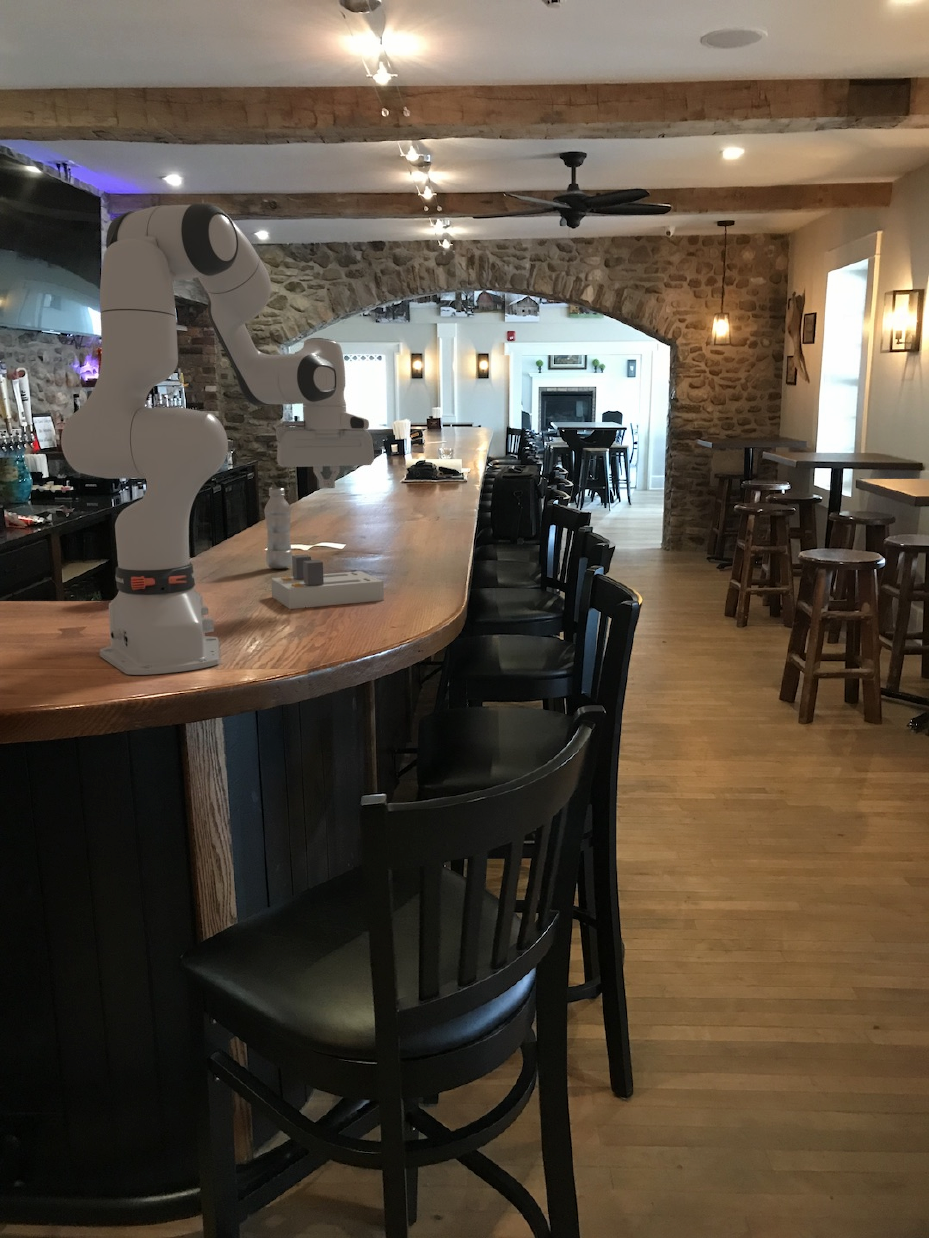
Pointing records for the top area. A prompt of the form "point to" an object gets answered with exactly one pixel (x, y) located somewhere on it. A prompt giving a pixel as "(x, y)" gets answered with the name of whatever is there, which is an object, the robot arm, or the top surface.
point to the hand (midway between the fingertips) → (327, 488)
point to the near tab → (313, 572)
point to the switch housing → (328, 590)
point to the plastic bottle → (278, 530)
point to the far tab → (299, 565)
